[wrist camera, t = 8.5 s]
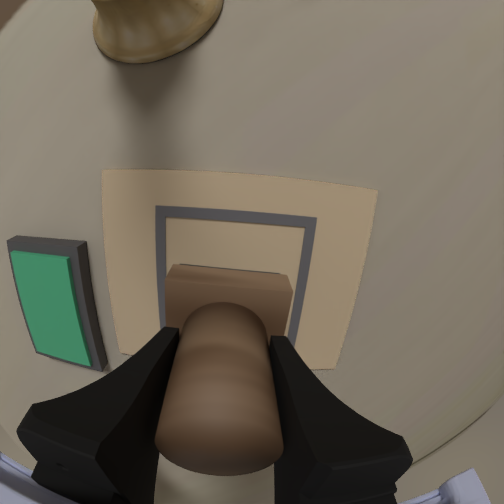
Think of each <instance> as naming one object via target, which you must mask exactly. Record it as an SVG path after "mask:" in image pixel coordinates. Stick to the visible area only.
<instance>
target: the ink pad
mask: <svg viewBox="0 0 504 504" xmlns="http://www.w3.org/2000/svg"><path fill="white" fill-rule="evenodd" d="M7 246H8V252H9V258H10V263H11V268H12V273H13V277H14V282H15V286H16V290H17V294H18V298H19V302H20V305H21V309H22V312H23V316H24V319H25V322H26V325H27V328H28V331H29V334H30V337H31V340H32V343H33V346H34V348H35V351H36V353H38V354H41V355H44V356H47V357H50V358H54V359H57V360H60V361H63V362H67V363H70V364H74V365H78V366H81V367H85V368H89V369H93V370H97V371H101V372H102V371H103V369H104V368H105V366H106V364H107V358H106V354H105V350H104V346H103V342H102V338H101V333H100V329H99V324H98V319H97V314H96V309H95V303H94V297H93V291H92V285H91V278H90V271H89V263H88V254H87V244H86V241H78V240H66V239H53V238H40V237H28V236H15V237H13V238H11V239H9V240H7Z"/></svg>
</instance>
